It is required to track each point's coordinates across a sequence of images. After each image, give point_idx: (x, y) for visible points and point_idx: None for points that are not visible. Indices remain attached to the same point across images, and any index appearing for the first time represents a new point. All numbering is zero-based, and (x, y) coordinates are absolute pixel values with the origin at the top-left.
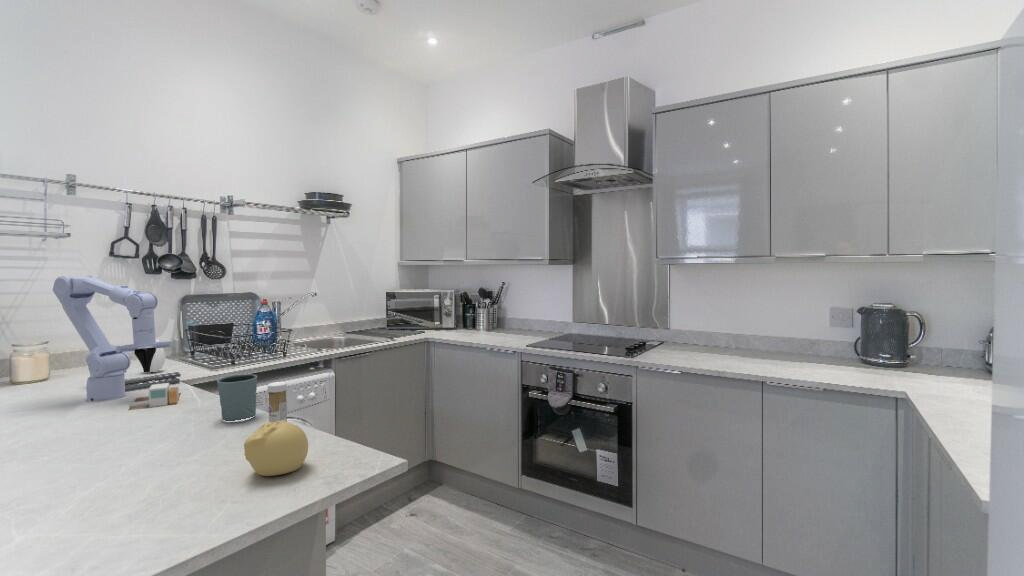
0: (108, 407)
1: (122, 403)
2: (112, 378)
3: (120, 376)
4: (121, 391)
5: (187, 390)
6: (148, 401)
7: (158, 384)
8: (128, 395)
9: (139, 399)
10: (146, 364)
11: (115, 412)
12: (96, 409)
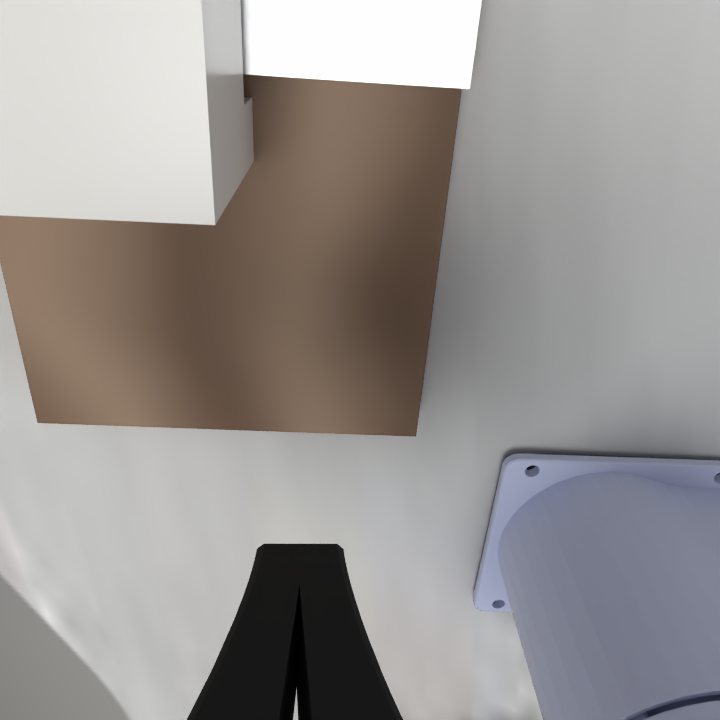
0: (623, 353)
1: (517, 433)
2: (688, 671)
3: (606, 710)
4: (544, 562)
5: (71, 594)
6: (271, 2)
7: (105, 169)
8: (472, 641)
9: (391, 351)
10: (280, 674)
11: (593, 91)
12: (712, 335)
